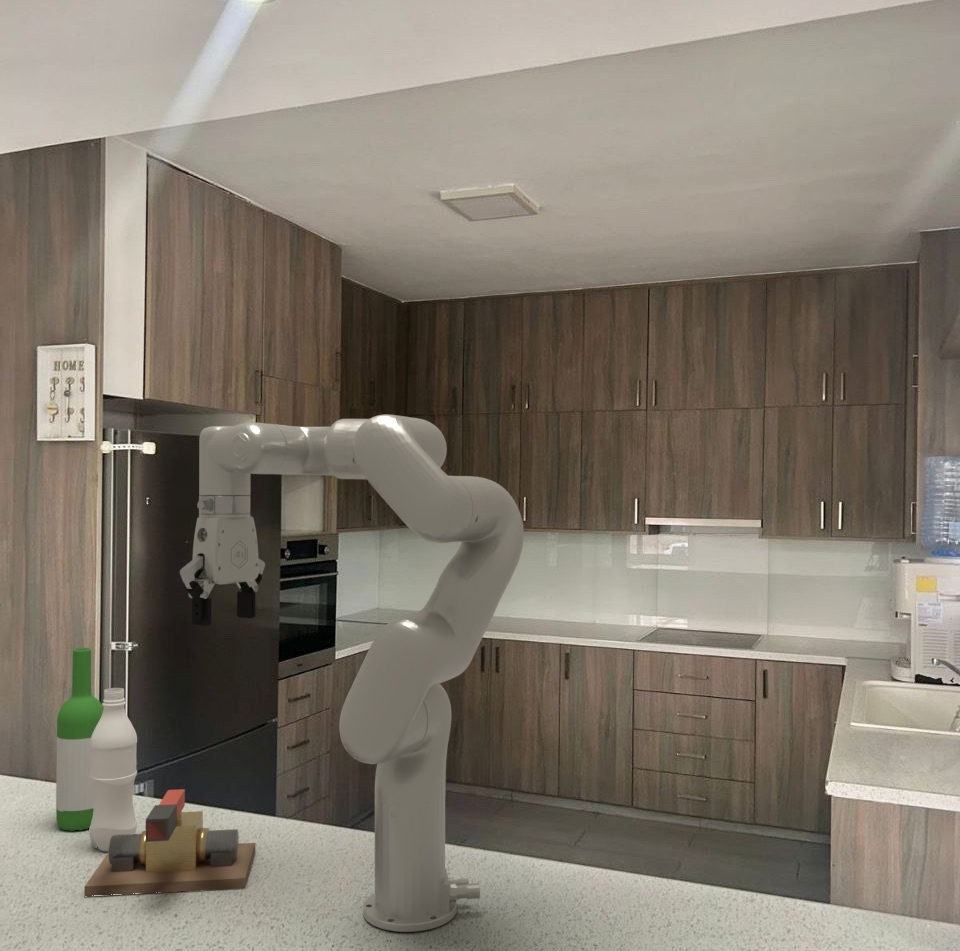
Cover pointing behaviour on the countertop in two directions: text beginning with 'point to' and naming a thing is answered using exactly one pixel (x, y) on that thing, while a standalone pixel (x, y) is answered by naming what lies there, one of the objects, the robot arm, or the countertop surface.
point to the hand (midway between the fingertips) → (224, 621)
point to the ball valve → (175, 848)
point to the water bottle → (113, 772)
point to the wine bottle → (76, 748)
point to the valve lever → (165, 816)
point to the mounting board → (172, 877)
